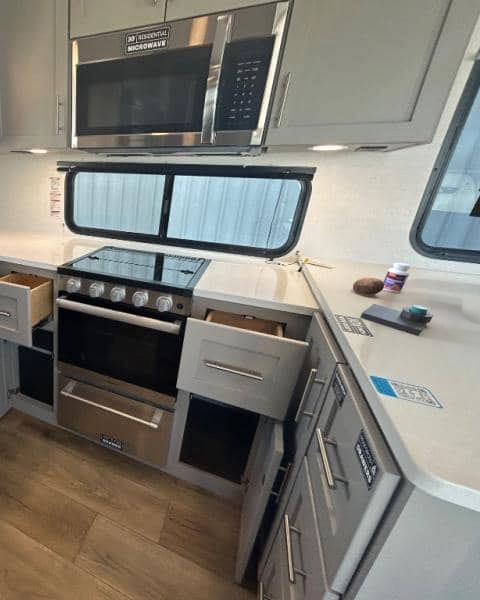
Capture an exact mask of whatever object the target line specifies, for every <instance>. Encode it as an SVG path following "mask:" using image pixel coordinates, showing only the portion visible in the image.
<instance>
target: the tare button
mask: <svg viewBox="0 0 480 600" xmlns="http://www.w3.org/2000/svg"><path fill="white" fill-rule="evenodd" d="M410 308H411V310H410V311H411V312H413V313H417V314H421V315H425V314H426V312H428V310H429V308H427V307H425V306H423V305H417V304H413V305H412V307H410Z"/></svg>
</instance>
